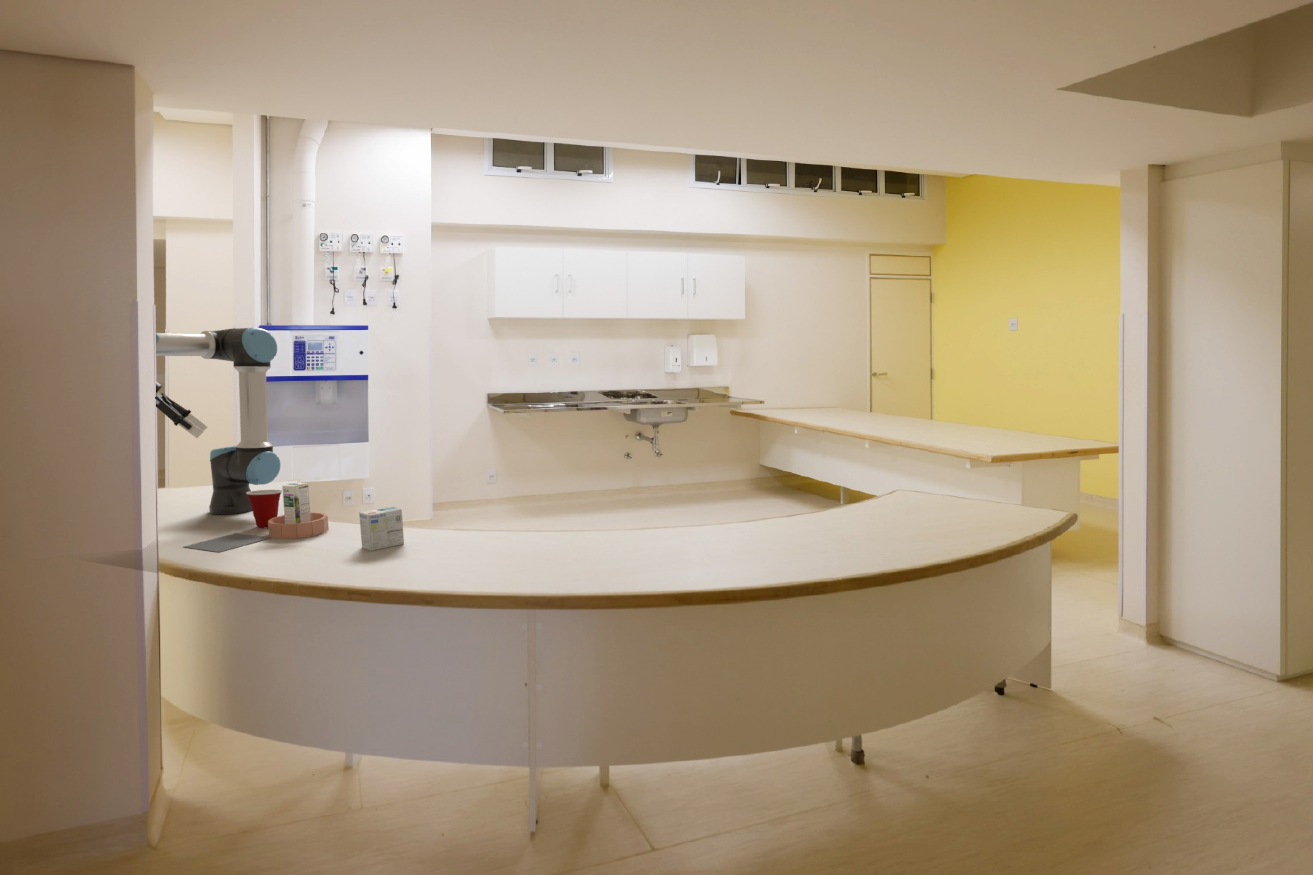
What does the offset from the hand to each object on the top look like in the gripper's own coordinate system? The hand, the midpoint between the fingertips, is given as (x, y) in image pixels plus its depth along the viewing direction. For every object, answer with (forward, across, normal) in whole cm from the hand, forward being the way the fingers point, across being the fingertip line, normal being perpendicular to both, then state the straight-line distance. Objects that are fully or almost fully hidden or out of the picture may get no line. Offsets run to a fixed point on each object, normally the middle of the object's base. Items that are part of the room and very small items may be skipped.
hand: (202, 432), depth 268 cm
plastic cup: (+34, -5, -12) cm, 37 cm away
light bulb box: (+57, +40, +11) cm, 71 cm away
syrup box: (+40, +9, -5) cm, 42 cm away
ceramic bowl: (+41, +9, -5) cm, 42 cm away
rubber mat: (+27, +13, -19) cm, 36 cm away
